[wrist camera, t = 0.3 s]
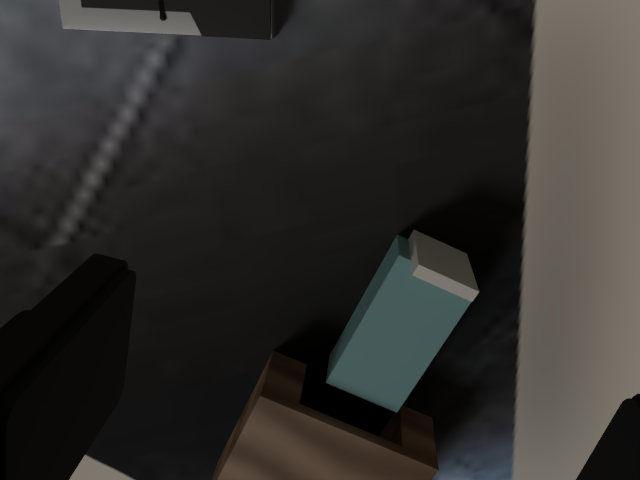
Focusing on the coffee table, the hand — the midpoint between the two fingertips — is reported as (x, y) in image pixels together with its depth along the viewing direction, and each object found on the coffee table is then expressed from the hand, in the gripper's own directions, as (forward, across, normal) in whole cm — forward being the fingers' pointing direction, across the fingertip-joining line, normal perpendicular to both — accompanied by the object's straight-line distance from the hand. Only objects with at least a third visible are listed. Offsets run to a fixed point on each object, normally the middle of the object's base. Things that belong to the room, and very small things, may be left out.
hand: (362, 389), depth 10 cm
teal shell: (+35, -7, +18) cm, 40 cm away
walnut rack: (+35, -4, +35) cm, 50 cm away
